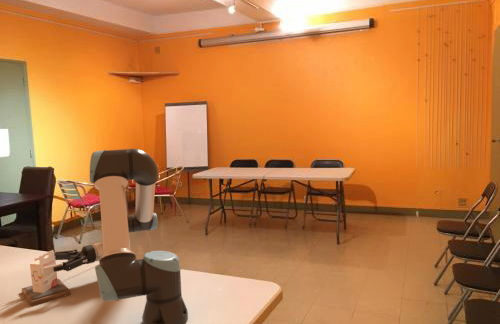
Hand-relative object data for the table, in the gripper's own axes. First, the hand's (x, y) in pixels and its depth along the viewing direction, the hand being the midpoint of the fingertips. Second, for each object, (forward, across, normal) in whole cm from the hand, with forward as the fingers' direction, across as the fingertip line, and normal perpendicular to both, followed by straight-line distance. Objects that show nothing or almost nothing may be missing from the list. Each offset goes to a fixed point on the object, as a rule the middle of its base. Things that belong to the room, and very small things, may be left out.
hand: (39, 266), depth 163 cm
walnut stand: (-2, 0, -12) cm, 12 cm away
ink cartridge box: (-1, 0, -10) cm, 10 cm away
